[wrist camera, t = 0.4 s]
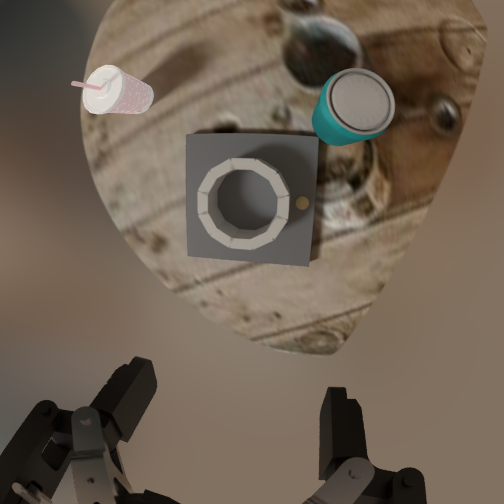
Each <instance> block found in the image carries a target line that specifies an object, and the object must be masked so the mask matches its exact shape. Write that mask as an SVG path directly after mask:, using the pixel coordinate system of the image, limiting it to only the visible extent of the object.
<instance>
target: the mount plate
mask: <svg viewBox="0 0 504 504" xmlns="http://www.w3.org/2000/svg"><path fill="white" fill-rule="evenodd" d="M318 143H319V137H313V136H300V135H283V134H256V133H213V134H186V222H187V249H188V256H192V257H203V258H214V259H225V260H236V261H248V262H260V263H271V264H283V265H295V266H307V267H309V261H310V252H311V242H312V231H313V220H314V208H315V195H316V180H317V163H318Z"/></svg>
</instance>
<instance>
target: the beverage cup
mask: <svg viewBox="0 0 504 504" xmlns="http://www.w3.org/2000/svg"><path fill="white" fill-rule="evenodd" d="M71 85H73V86H79V87H84V90H83V102H84V105H85V108H86V109H87V110H88V111H89V112H90V113H94V114H104V113H130V114H139V113H143V112H144V111H146V110H147V109H148V108H149V107H150V105H151V104H152V101H153V98H154V94H153V90H152V88H151V87H150V86H149V85H148V84H146V83H144V82H142V81H140V80H138V79H136V78H134V77H132V76H130V75H128V74H126V73H124V72H123V71H122V70H120V69H119V68H118V67H116V66H114V65H105V66H102V67H100V68H98V69H97V70H96V71H94V72H93V73H92V74H91V75H90V77H89V79H88V80H87V82H86V83H81V82H76V81H72V83H71Z"/></svg>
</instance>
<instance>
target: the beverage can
mask: <svg viewBox="0 0 504 504" xmlns="http://www.w3.org/2000/svg"><path fill="white" fill-rule="evenodd" d="M394 112H395V100H394V96H393V93H392V91H391V89H390V87H389V86H388V84H387V83H386V82H385V81H384V80H383V79H382V78H381V77H380V76H378V75H377V74H375V73H373V72H371V71H369V70H366V69H361V68H351V69H346V70H343V71H341V72H339V73H337V74H335V75H333V76H332V77H330V78H329V80H328V81H327V82H326V83H325V85H324V87H323V89H322V92H321V94H320V97H319V100H318V102H317V105H316V107H315V110H314V112H313V116H312V125H313V129H314V131H315V133H316V134H317V136H318V137H319V138H320V139H321V140H323V141H324V142H326V143H328V144H330V145H334V146H343V145H347V144H351V143H355V142H359V141H363V140H368V139H371V138H374V137H377V136H378V135H380V134H381V133H383V132H384V131H385V130H386V128H387V127H388V125H389V124H390V122H391V121H392V119H393V116H394Z"/></svg>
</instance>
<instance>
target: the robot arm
mask: <svg viewBox="0 0 504 504" xmlns="http://www.w3.org/2000/svg"><path fill="white" fill-rule="evenodd" d="M156 388H157V380H156V376H155V373H154V368H153V364H152V361H151V360H148V359H144V358H141V357H137V356H136V357H134V358H133V359H132V361H131V362H130V363H129V365H127V364H124V365H122V366H121V367H119V368H118V369H116V370H115V372H114V373H113V374H112V376H111V378H110V379H109V380H108V381H107V383H106V385H104V387H103V388H102V389H101V391H100V392H99V393H98V395H97V396H96V398H95V399H94V400H93V402H92V403H91V404H90V405H89V406H84V407H80V408H78V409H76V410H75V411H68V410H61V409H59V408H58V407H57V405H56V404H55V403H54V402H53V401H50V400H43V401H40V402H39V403H38V404H37V405H36V406H35V407H34V408H33V410H32V411H31V412H30V414H29V415H28V416H27V418H26V419H25V421H24V422H23V423H22V425H21V426H20V428H19V429H18V431H17V432H16V433H15V435H14V436H13V438H12V439H11V441H10V442H9V443H8V445H7V447H6V448H5V449H4V451H3V452H2V454H1V455H0V504H53V503H52V501H51V499H52V496H53V495H54V493H55V491H56V488H57V487H58V485H59V483H60V481H61V479H62V477H63V475H64V473H65V472H66V470H67V468H68V466H69V464H70V462H71V468H72V474H73V480H74V485H75V490H76V495H77V500H78V504H180V503H178V502H176V501H175V500H173V499H171V498H169V497H166V496H164V495H160V494H157V493H154V492H151V491H149V490H145V491H144V493H134V492H133V490H132V487H131V485H130V483H129V482H128V480H127V477H126V474H125V471H124V467H123V464H122V460H121V457H120V453H119V449H118V446H117V444H118V442H119V440H122V441H125V442H128V441H129V439H130V438H131V436H132V434H133V432H134V430H135V428H136V426H137V425H138V423H139V421H140V419H141V417H142V416H143V414H144V412H145V410H146V408H147V407H148V405H149V403H150V401H151V400H152V398H153V396H154V394H155V392H156ZM50 438H51V440H50ZM49 440H50V441H49ZM48 441H49V442H48ZM47 443H48V444H47ZM46 444H47V446H46ZM45 446H46V447H45ZM44 447H45V449H44ZM366 448H367V447H366V439H365V430H364V423H363V416H362V410H361V407H360V405H359V403H358V402H357V400H356V399H347V393H346V388H345V387H328V389H327V392H326V395H325V398H324V401H323V404H322V407H321V411H320V448H319V480H325V483H324V484H323V485H322V486H321V487H320V488H319V489H318V490H317V491H316V492H315V493H314V495H312V496H311V497H310V498H308V499H307V500H306V501H305V502H303V503H302V504H427V501H426V490H425V482H424V477H423V475H422V473H421V472H420V471H419V470H417V469H415V468H404V469H401V470H400V471H398V472H392V471H387V470H382V469H379V468H377V467H375V466H374V465H373V464H372V463H371V462H370V461H369V459H368V456H367V449H366ZM43 449H44V451H43ZM42 451H43V452H42Z"/></svg>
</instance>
